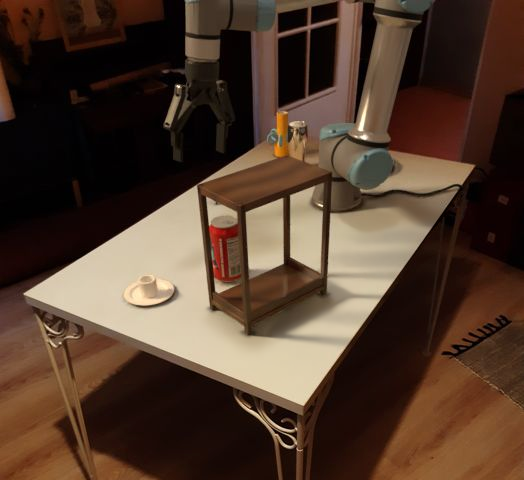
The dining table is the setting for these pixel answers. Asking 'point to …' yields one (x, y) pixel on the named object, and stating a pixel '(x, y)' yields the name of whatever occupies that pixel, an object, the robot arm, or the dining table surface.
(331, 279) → the dining table surface
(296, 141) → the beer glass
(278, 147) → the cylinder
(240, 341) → the dining table surface
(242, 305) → the shelf stand
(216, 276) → the soda can
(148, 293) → the candle holder
